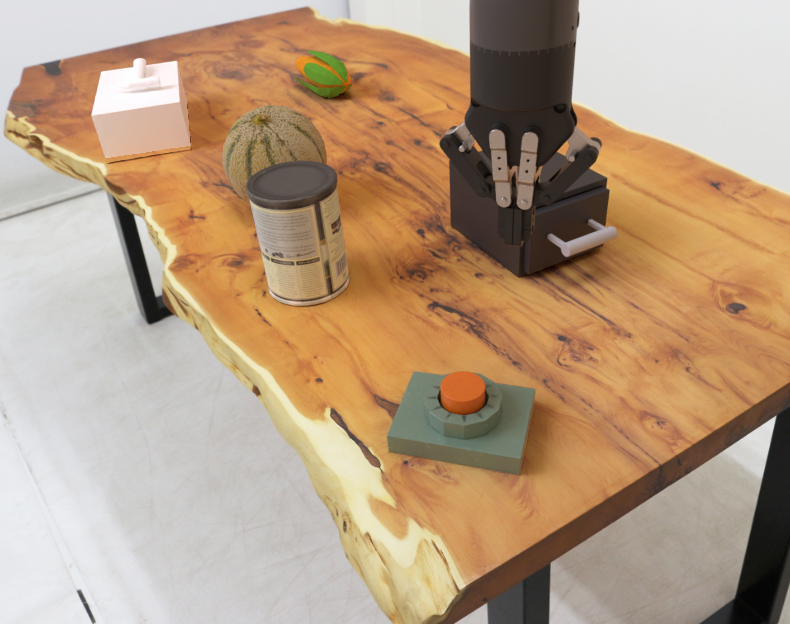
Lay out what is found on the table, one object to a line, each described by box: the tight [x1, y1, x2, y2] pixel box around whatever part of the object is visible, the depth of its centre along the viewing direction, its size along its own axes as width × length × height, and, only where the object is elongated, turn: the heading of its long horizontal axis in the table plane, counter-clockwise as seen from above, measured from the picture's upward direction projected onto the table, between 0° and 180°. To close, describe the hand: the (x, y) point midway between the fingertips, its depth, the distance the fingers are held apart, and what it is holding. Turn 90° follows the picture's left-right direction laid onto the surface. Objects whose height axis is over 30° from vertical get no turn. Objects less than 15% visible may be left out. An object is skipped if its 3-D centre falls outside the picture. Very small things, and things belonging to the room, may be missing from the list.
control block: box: [386, 370, 537, 476], centre depth 66 cm, size 12×9×4 cm
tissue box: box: [90, 57, 192, 159], centre depth 131 cm, size 14×25×11 cm, turn 15°
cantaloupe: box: [221, 104, 328, 205], centre depth 102 cm, size 15×15×15 cm
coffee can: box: [246, 161, 351, 307], centre depth 84 cm, size 10×10×14 cm
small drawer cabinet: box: [448, 149, 608, 278], centre depth 91 cm, size 16×13×10 cm
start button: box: [440, 370, 485, 415], centre depth 64 cm, size 4×4×2 cm
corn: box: [293, 49, 353, 99], centre depth 144 cm, size 7×8×20 cm
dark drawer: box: [523, 186, 618, 275], centre depth 88 cm, size 19×11×8 cm, turn 28°
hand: (515, 241), depth 61 cm, fingers closed
